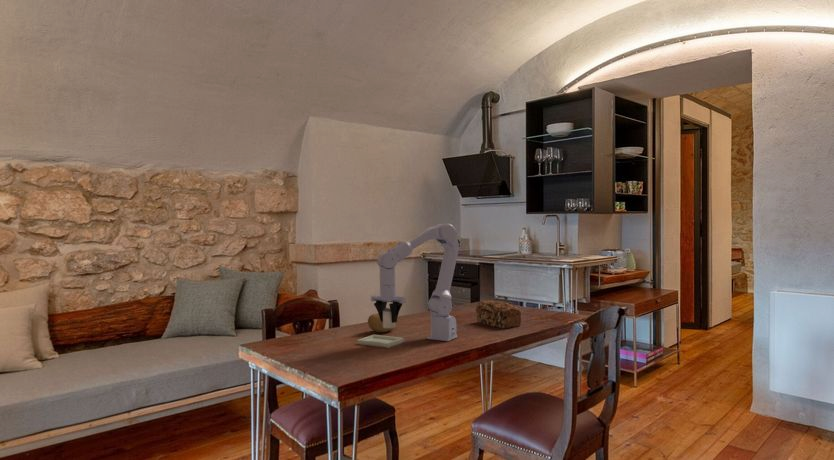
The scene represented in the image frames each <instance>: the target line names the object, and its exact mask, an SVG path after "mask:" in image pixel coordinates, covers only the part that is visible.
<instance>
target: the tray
mask: <svg viewBox="0 0 834 460" xmlns="http://www.w3.org/2000/svg"><path fill="white" fill-rule="evenodd" d="M404 342H405V339H404V337H398V336H397V337H396V336H392V335H391V336H388V335H380V334H371V335H368V336H366V337H362V338H360V339H359V338H358V339H357V345H361V346H362V345H363V346H369V347H377V348H383V349H390V348H393V347H395V346H398V345H400V344H403V343H404Z"/></svg>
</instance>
